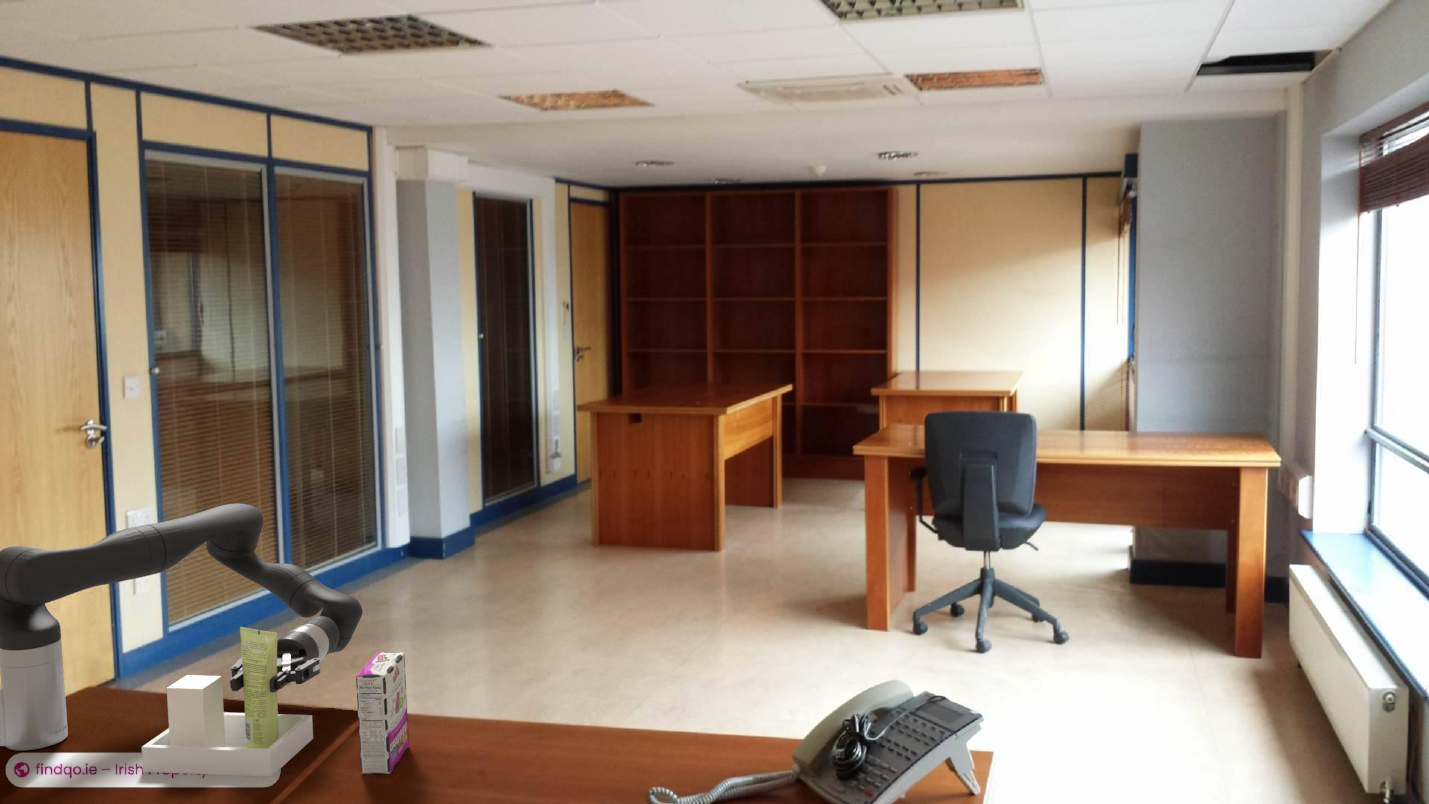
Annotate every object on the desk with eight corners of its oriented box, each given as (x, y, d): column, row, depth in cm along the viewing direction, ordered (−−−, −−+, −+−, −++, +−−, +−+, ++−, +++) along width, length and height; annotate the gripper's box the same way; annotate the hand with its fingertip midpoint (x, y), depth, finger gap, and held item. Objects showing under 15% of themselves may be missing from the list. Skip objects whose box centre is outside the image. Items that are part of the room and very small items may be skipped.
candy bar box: (380, 746, 197) (376, 651, 195) (409, 746, 197) (406, 651, 195) (358, 775, 186) (354, 674, 184) (390, 775, 186) (386, 674, 184)
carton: (170, 760, 190) (166, 687, 188) (190, 745, 196) (186, 675, 194) (206, 761, 189) (202, 688, 188) (225, 746, 195) (221, 676, 194)
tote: (143, 777, 185) (141, 747, 185) (194, 739, 200) (192, 711, 200) (271, 782, 184) (270, 751, 183) (313, 743, 198) (312, 715, 198)
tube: (282, 737, 196) (277, 622, 193) (283, 748, 191) (277, 632, 189) (246, 742, 194) (239, 626, 191) (245, 754, 189) (238, 636, 187)
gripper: (339, 673, 205) (296, 710, 188) (260, 671, 206) (210, 707, 190) (338, 631, 204) (294, 664, 187) (258, 629, 205) (207, 662, 189)
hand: (252, 686), depth 189 cm, fingers closed on tube, 5 cm apart
